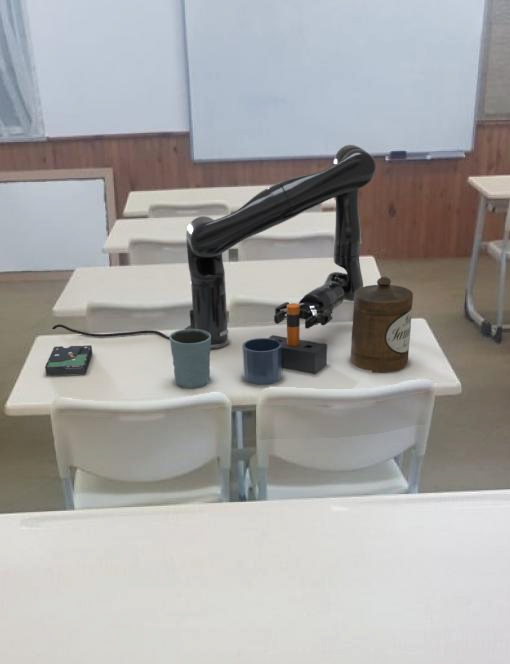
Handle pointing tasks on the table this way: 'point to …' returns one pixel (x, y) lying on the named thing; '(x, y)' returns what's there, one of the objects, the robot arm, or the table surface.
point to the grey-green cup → (191, 357)
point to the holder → (303, 355)
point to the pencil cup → (262, 361)
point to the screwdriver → (293, 324)
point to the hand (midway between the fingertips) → (291, 322)
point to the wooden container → (381, 327)
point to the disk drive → (69, 360)
